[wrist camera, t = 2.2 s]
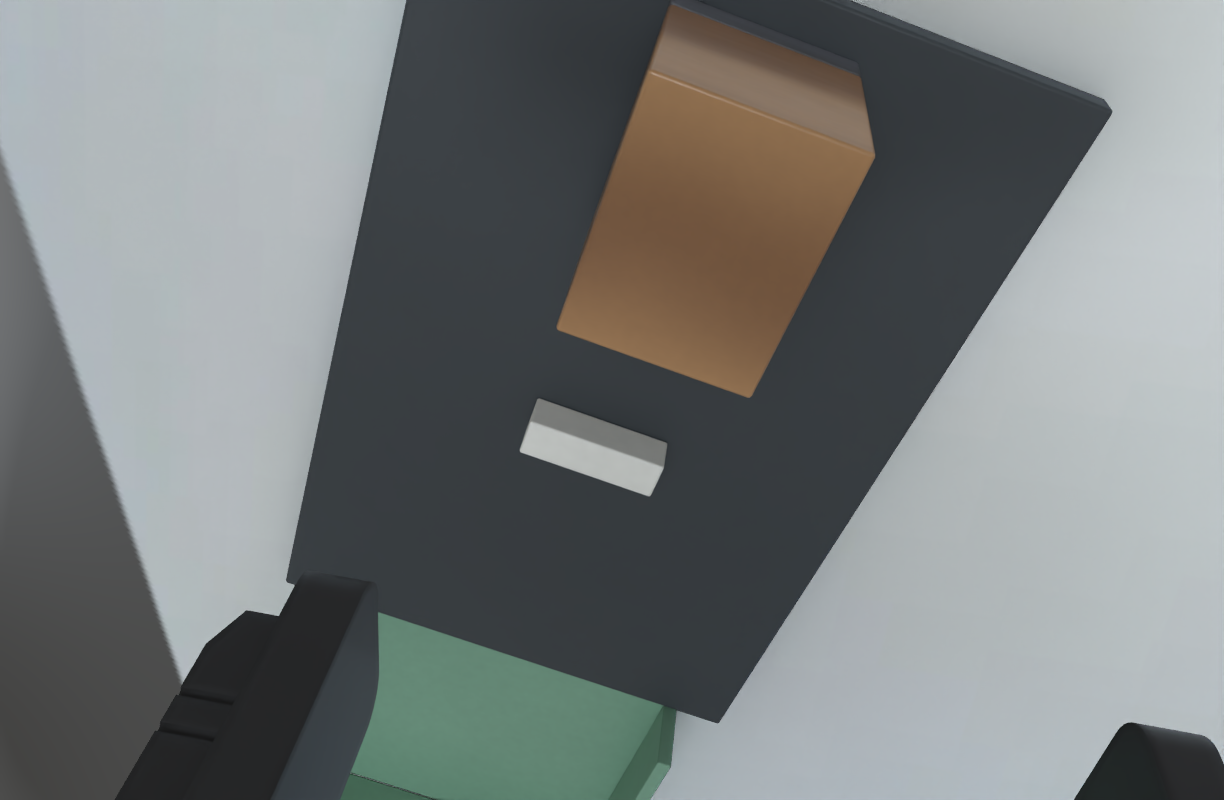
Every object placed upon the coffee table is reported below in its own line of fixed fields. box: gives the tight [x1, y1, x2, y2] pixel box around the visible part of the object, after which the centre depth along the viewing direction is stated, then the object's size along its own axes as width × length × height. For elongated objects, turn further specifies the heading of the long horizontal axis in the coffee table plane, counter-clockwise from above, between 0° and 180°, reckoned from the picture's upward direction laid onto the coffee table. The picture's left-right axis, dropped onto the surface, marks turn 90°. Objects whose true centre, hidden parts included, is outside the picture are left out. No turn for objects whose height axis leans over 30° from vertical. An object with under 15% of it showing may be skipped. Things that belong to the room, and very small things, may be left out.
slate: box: [286, 0, 1112, 723], centre depth 31 cm, size 24×16×1 cm, turn 161°
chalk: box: [520, 398, 667, 496], centre depth 31 cm, size 1×4×1 cm, turn 72°
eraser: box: [556, 0, 875, 398], centre depth 23 cm, size 6×4×6 cm
